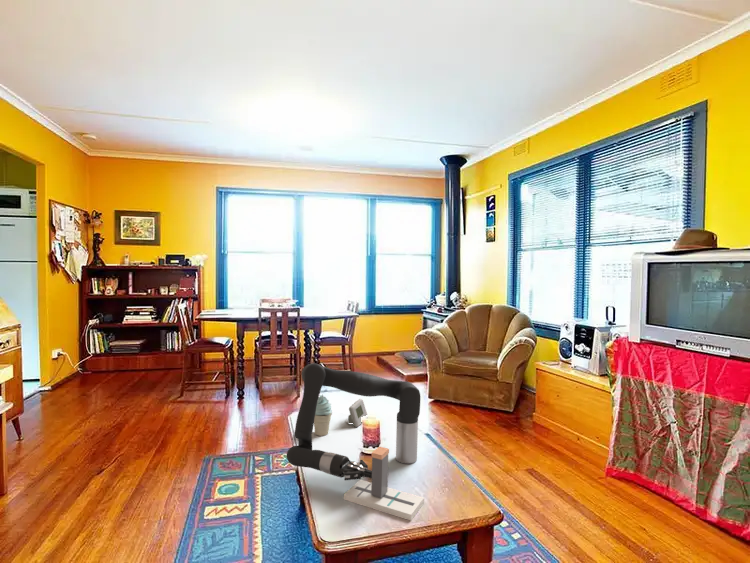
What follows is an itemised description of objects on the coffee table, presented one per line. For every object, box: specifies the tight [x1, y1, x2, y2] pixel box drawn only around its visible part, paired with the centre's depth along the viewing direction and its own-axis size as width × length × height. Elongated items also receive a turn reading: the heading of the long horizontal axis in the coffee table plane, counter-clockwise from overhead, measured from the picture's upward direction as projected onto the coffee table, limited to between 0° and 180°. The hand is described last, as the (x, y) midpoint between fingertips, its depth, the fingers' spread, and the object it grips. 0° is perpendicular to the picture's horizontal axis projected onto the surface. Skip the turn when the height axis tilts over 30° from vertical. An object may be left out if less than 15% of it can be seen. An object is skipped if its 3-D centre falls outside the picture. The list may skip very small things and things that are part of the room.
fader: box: [371, 446, 390, 498], centre depth 154 cm, size 6×4×16 cm, turn 153°
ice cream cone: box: [313, 394, 333, 437], centre depth 213 cm, size 10×11×20 cm
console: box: [343, 479, 425, 521], centre depth 153 cm, size 12×26×2 cm, turn 63°
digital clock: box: [347, 398, 368, 428], centre depth 230 cm, size 16×9×11 cm, turn 150°
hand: (374, 475), depth 155 cm, fingers closed
